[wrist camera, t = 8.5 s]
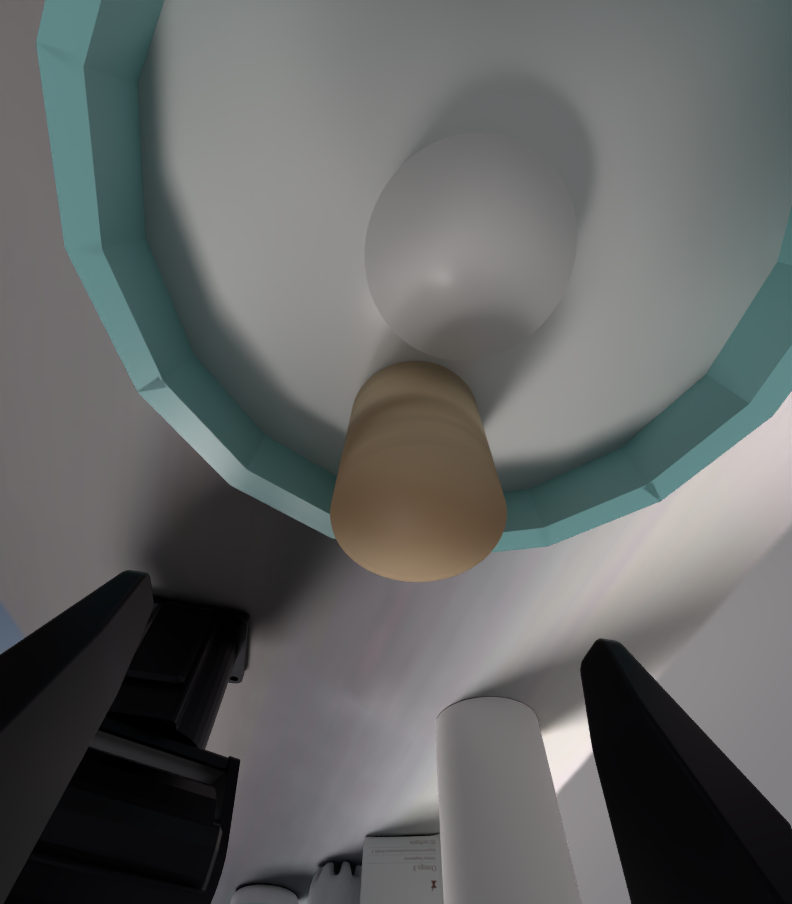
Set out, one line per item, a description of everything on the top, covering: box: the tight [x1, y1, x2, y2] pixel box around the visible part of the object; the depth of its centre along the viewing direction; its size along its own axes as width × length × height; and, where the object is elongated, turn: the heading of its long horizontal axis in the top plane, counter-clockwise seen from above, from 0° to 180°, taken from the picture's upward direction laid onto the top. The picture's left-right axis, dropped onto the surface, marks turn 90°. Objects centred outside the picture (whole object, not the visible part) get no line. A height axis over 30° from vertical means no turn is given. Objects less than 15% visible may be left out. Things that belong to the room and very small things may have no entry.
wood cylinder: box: [330, 361, 507, 582], centre depth 16 cm, size 5×5×6 cm
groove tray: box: [36, 0, 792, 552], centre depth 14 cm, size 23×23×4 cm
